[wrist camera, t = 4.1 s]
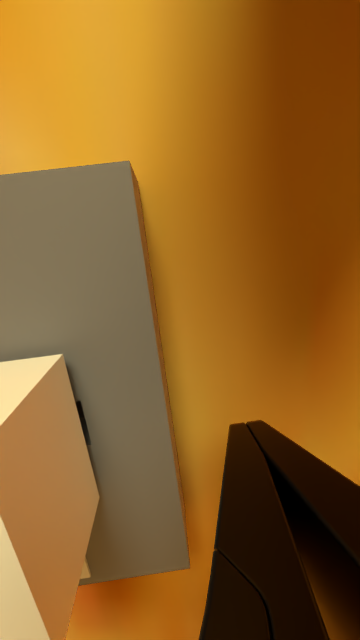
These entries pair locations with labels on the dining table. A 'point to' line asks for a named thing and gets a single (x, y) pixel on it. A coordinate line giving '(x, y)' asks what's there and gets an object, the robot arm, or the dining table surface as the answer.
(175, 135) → the dining table surface
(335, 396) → the dining table surface
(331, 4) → the dining table surface
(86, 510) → the fader
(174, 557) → the console
